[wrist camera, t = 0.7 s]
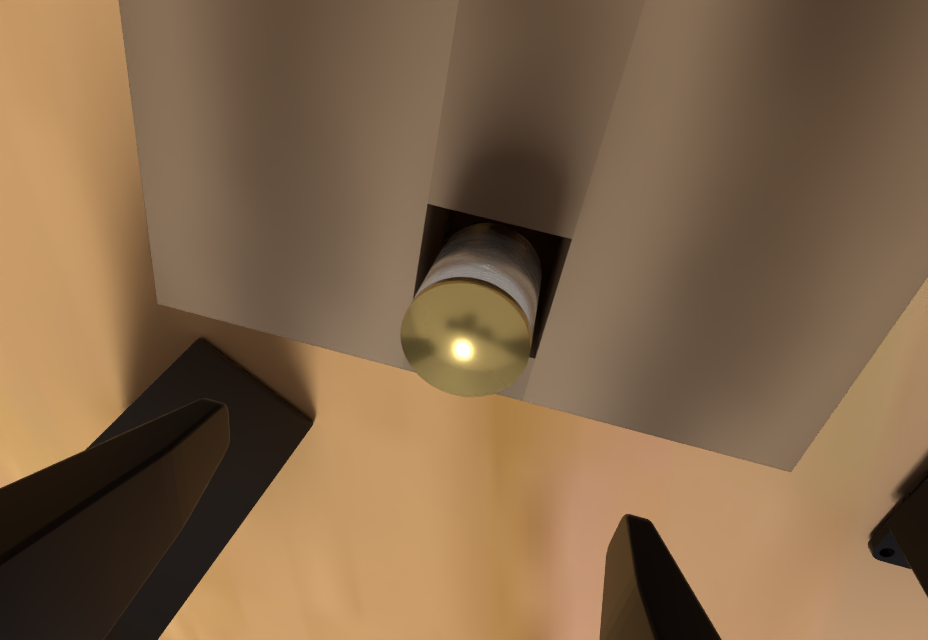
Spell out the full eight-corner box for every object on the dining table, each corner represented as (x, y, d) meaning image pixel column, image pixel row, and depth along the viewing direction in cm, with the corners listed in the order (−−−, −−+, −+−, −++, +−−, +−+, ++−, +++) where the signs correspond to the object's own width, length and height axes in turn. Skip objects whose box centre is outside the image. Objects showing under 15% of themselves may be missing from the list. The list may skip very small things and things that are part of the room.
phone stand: (203, 334, 24) (-91, 595, 13) (316, 421, 25) (127, 719, 15) (125, 437, 28) (-142, 694, 18) (225, 507, 29) (30, 783, 19)
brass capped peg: (553, 237, 15) (545, 304, 12) (527, 329, 17) (513, 410, 13) (446, 211, 15) (409, 269, 12) (430, 304, 17) (393, 378, 14)
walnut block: (1148, -278, 11) (1400, -400, 8) (755, 390, 20) (791, 472, 16) (192, -441, 12) (41, -604, 9) (226, 254, 21) (157, 303, 18)
